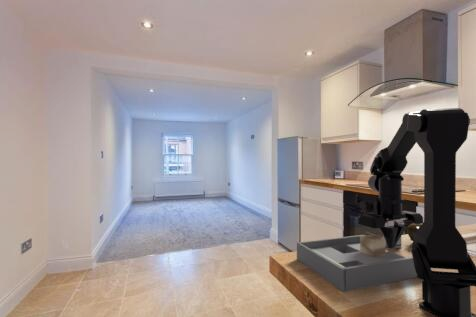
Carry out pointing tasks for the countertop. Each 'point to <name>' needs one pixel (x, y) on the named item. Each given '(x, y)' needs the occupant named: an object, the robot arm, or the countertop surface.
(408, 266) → the box
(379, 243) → the birch block
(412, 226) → the potato
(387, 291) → the countertop surface
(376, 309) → the countertop surface
